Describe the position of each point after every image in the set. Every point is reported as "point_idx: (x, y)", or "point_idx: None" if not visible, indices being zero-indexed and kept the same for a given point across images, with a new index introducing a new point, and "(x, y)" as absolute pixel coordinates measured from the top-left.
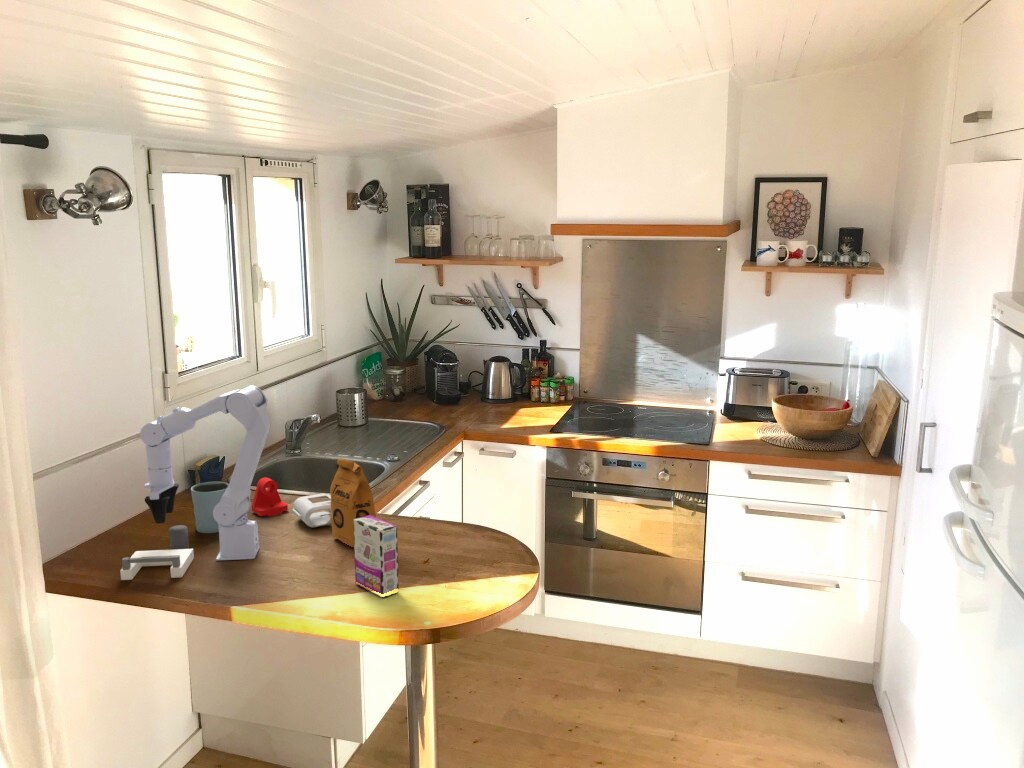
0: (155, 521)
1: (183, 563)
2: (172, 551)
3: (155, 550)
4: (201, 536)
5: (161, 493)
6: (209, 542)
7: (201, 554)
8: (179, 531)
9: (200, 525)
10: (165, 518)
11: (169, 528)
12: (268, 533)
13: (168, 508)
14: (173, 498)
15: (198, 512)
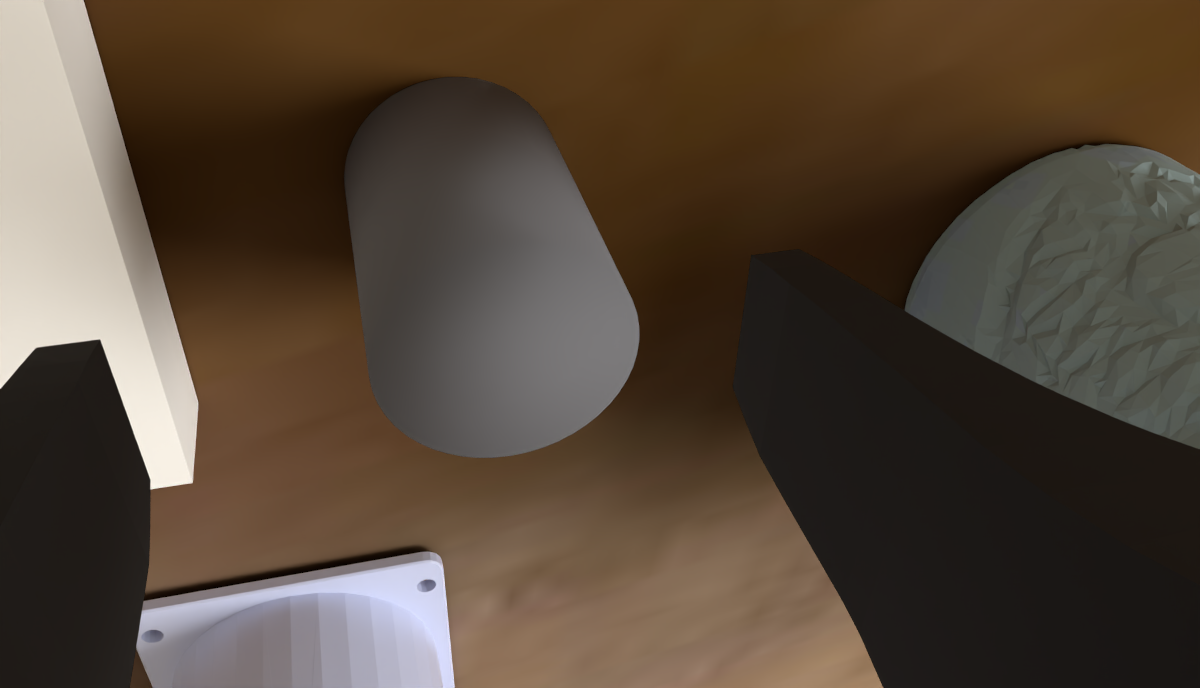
0: (11, 380)
1: None
2: (52, 300)
3: (46, 46)
4: (836, 263)
5: (1054, 604)
6: (643, 386)
7: (309, 430)
8: (386, 407)
9: (989, 273)
10: (138, 563)
11: (508, 243)
12: (749, 675)
13: (783, 399)
14: (876, 665)
15: (1097, 363)
